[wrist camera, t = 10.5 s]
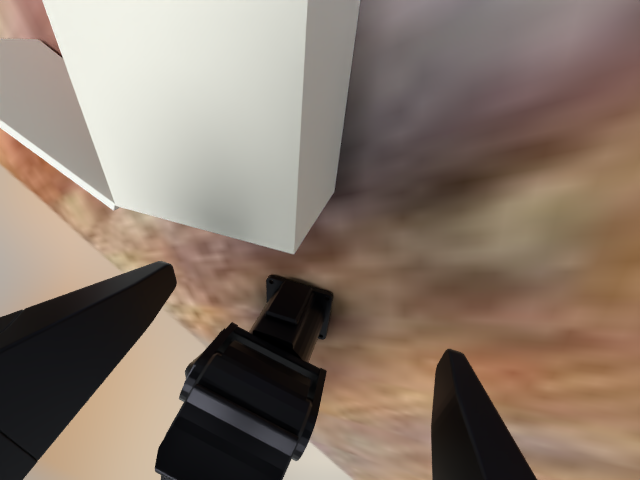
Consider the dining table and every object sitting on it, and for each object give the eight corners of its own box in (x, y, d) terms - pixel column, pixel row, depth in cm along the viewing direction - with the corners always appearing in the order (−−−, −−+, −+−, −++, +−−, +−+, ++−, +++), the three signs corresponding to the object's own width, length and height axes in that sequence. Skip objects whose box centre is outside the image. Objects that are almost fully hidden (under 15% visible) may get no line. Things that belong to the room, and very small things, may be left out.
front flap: (196, 163, 23) (43, 239, 14) (192, 172, 23) (44, 251, 14) (38, 39, 21) (-256, 32, 12) (38, 52, 22) (-242, 55, 13)
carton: (334, 191, 21) (293, 254, 14) (201, 162, 23) (115, 205, 17) (373, -95, 13) (320, -237, 6) (163, -100, 15) (-34, -211, 9)
